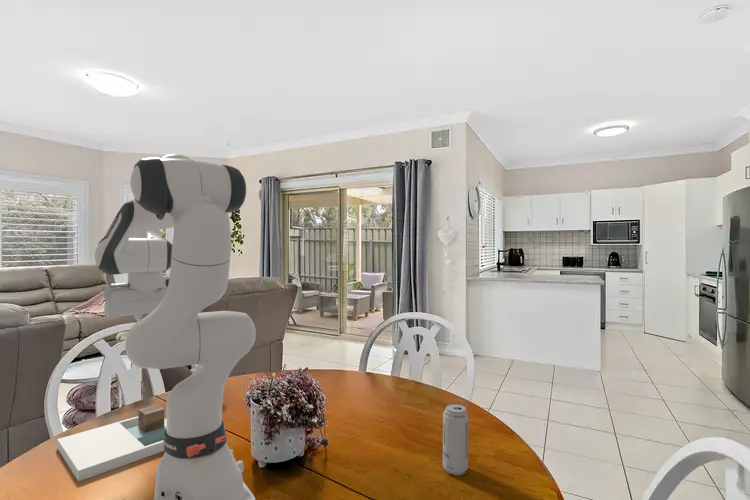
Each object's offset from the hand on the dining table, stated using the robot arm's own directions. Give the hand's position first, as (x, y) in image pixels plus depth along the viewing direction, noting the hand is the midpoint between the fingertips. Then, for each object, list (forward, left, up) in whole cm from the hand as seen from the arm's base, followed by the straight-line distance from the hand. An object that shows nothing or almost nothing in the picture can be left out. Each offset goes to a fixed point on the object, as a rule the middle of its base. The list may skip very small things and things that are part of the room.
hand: (145, 328), depth 117 cm
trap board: (-8, +8, -29) cm, 31 cm away
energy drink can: (-80, -42, -29) cm, 95 cm away
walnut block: (-8, +1, -27) cm, 28 cm away
